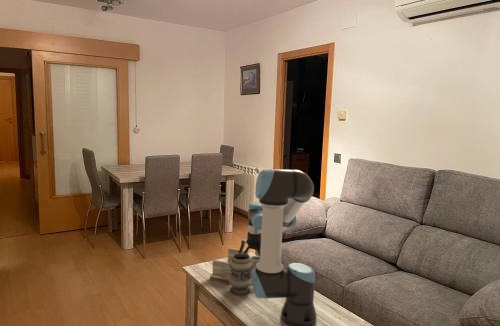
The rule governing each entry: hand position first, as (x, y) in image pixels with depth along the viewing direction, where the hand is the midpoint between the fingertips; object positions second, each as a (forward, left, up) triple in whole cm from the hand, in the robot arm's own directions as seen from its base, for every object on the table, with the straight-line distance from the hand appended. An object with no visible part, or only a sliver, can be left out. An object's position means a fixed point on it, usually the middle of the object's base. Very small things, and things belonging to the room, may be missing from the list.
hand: (252, 271), depth 190 cm
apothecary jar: (-17, 0, -3) cm, 17 cm away
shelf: (0, +13, -3) cm, 13 cm away
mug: (0, 0, -3) cm, 3 cm away
